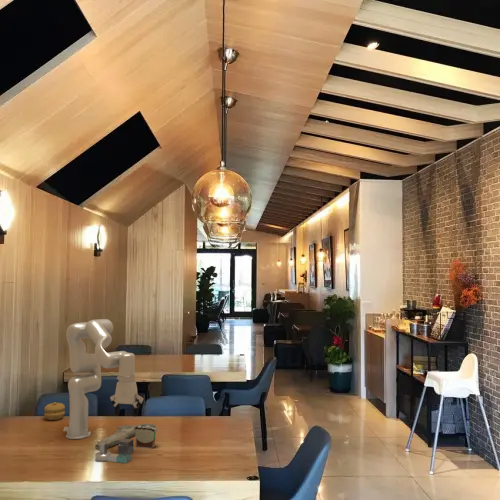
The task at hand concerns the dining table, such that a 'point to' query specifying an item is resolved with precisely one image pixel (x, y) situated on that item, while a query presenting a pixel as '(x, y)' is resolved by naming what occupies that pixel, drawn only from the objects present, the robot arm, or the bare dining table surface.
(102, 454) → the ratchet
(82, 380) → the robot arm
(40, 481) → the dining table surface
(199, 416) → the dining table surface
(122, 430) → the elongated rock
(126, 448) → the brushed metal cube
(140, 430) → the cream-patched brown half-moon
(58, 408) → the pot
